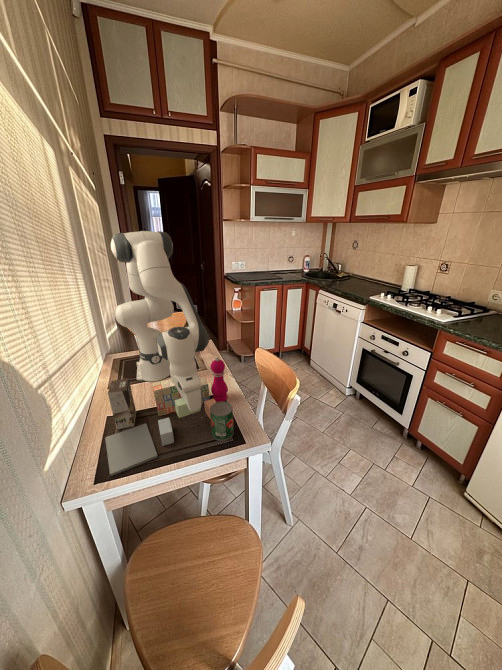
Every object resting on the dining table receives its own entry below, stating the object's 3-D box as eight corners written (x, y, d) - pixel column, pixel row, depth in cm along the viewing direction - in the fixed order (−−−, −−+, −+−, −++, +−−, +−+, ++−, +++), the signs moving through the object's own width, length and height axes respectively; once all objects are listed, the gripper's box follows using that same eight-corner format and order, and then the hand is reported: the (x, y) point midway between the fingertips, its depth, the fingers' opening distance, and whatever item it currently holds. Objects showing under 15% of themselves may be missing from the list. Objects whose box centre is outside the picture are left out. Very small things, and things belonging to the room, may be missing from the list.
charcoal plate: (105, 439, 97) (105, 437, 96) (146, 425, 103) (146, 423, 103) (110, 476, 82) (109, 474, 82) (157, 457, 89) (157, 455, 88)
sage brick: (176, 411, 99) (174, 400, 97) (197, 404, 103) (195, 393, 101) (179, 418, 96) (177, 406, 94) (200, 410, 100) (199, 399, 98)
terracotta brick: (212, 423, 104) (211, 412, 102) (205, 411, 110) (204, 401, 108) (222, 419, 106) (221, 408, 104) (214, 408, 112) (213, 398, 110)
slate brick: (162, 446, 93) (160, 434, 91) (159, 431, 100) (157, 420, 98) (174, 442, 95) (172, 431, 93) (170, 428, 102) (169, 417, 100)
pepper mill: (214, 405, 114) (211, 362, 106) (209, 395, 120) (206, 355, 113) (230, 400, 117) (228, 359, 109) (225, 391, 123) (222, 352, 115)
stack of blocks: (206, 395, 121) (204, 370, 116) (210, 402, 116) (208, 377, 111) (156, 407, 113) (151, 382, 108) (158, 416, 108) (153, 390, 103)
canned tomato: (209, 428, 101) (207, 404, 97) (230, 423, 103) (228, 399, 99) (215, 443, 94) (212, 417, 90) (236, 437, 96) (235, 412, 92)
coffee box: (134, 426, 103) (126, 390, 97) (116, 430, 101) (106, 393, 95) (136, 411, 111) (129, 377, 105) (119, 414, 109) (111, 380, 103)
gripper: (166, 363, 100) (171, 394, 105) (184, 391, 84) (188, 426, 89) (183, 359, 103) (187, 389, 108) (203, 385, 87) (206, 419, 92)
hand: (187, 406), depth 99 cm, fingers closed on sage brick, 4 cm apart
